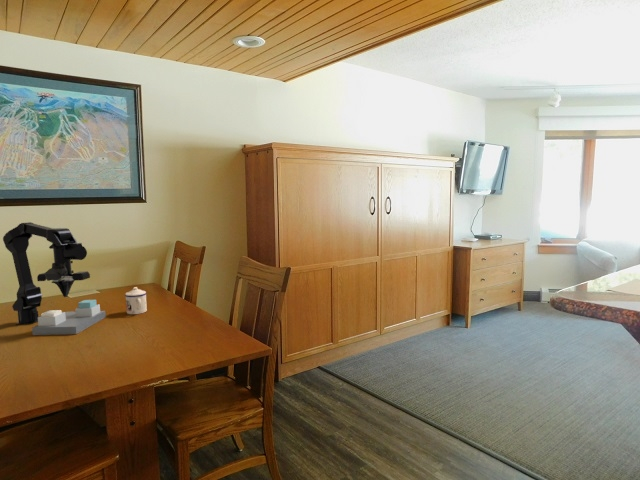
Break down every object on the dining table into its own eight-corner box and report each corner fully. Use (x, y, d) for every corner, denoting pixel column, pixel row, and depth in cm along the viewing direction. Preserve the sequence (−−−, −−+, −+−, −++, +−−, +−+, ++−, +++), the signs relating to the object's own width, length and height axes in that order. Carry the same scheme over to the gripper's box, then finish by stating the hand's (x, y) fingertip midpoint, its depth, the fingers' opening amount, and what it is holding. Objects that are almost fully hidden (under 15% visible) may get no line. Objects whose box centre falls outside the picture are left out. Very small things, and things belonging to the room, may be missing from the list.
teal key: (78, 309, 178) (78, 302, 178) (85, 306, 183) (84, 300, 182) (90, 309, 178) (90, 302, 178) (96, 306, 183) (96, 299, 183)
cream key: (41, 321, 166) (41, 313, 166) (49, 317, 171) (49, 310, 171) (54, 320, 166) (53, 313, 166) (62, 317, 171) (61, 310, 171)
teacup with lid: (124, 311, 195) (122, 287, 194) (144, 308, 201) (143, 284, 199) (129, 317, 186) (128, 291, 184) (151, 313, 191) (149, 288, 190)
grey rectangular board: (32, 335, 163) (31, 318, 163) (67, 318, 186) (66, 303, 186) (76, 334, 164) (75, 317, 163) (105, 317, 186) (104, 303, 186)
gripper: (25, 262, 163) (29, 302, 164) (72, 261, 163) (76, 301, 164) (44, 258, 174) (48, 295, 176) (89, 257, 174) (92, 294, 175)
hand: (65, 296), depth 172 cm, fingers closed
